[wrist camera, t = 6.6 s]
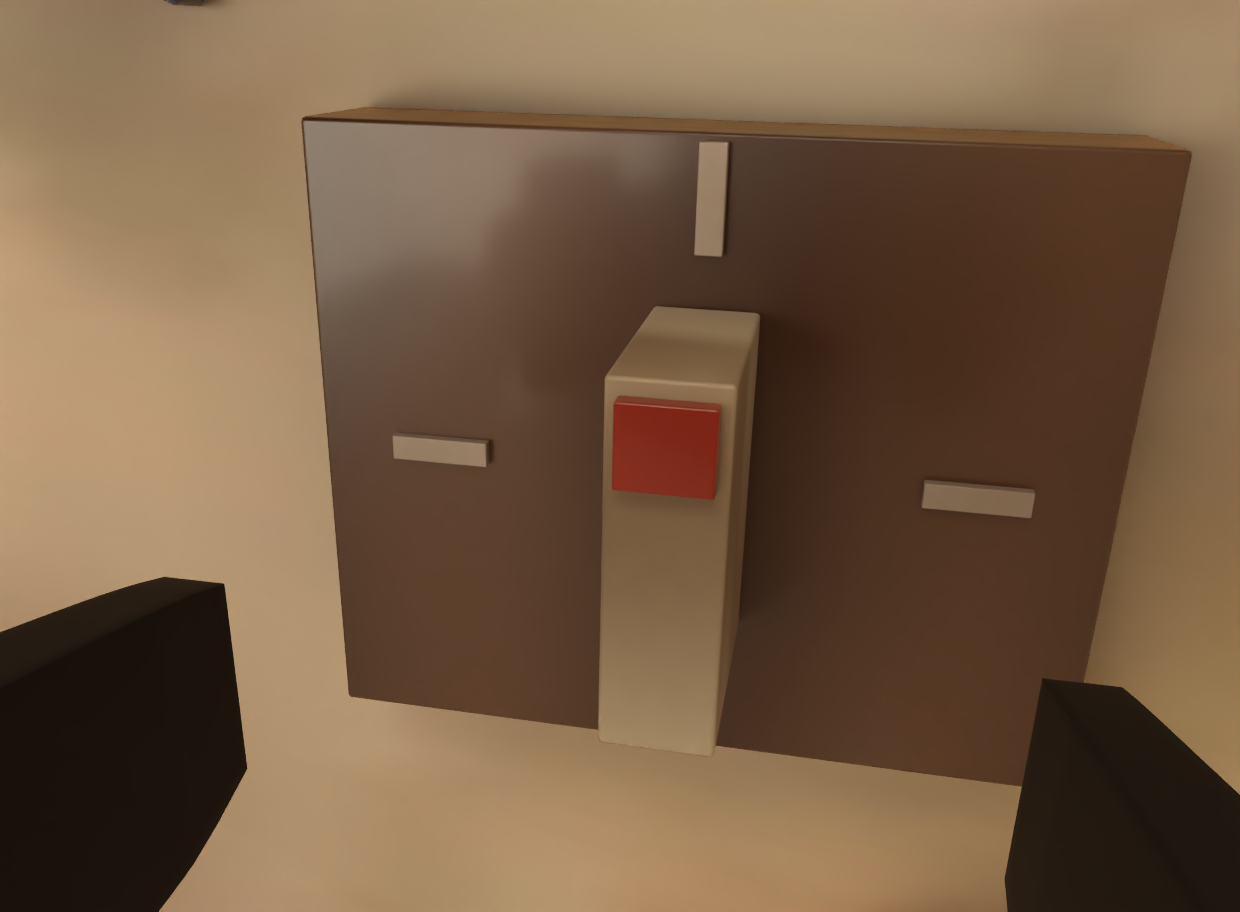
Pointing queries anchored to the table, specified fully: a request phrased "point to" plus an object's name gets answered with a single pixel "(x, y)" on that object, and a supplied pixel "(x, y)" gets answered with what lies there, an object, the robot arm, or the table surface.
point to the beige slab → (674, 525)
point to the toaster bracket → (186, 2)
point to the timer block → (783, 405)
